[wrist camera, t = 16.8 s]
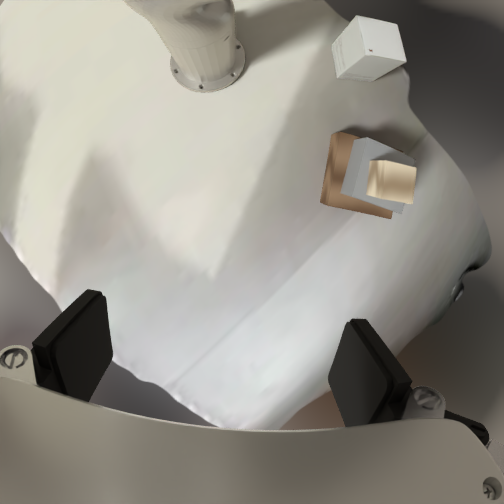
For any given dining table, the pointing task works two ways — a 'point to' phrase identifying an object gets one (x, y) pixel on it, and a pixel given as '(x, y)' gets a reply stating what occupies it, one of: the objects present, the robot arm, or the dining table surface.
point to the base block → (335, 178)
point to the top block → (359, 170)
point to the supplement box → (367, 49)
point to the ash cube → (391, 181)
